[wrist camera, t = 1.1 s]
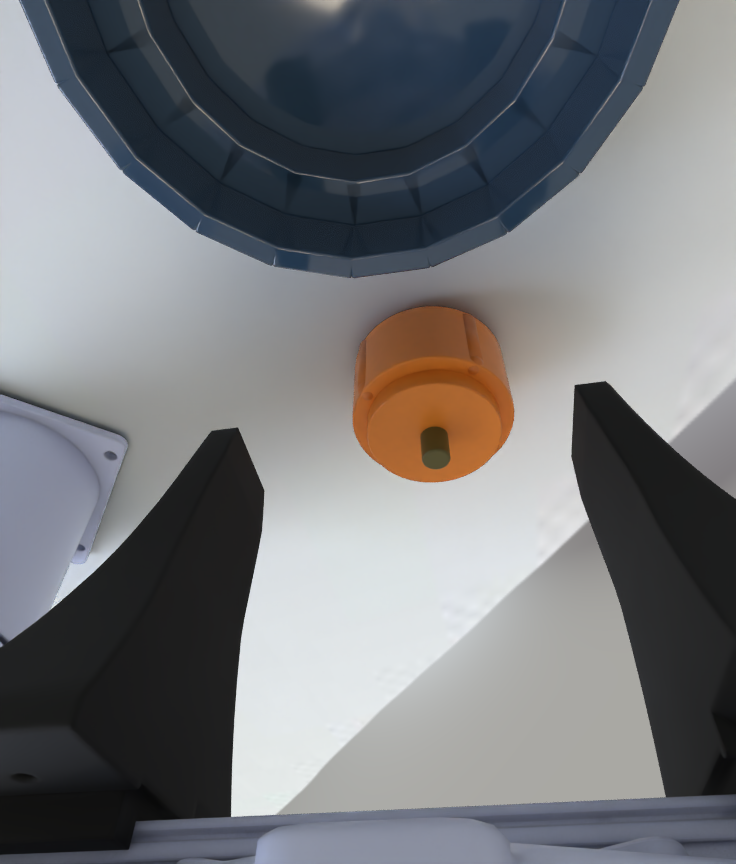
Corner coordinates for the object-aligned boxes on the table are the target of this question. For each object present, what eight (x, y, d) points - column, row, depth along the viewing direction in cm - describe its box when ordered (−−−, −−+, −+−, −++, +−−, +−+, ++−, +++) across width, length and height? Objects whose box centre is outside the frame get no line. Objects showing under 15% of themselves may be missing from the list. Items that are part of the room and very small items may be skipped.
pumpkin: (451, 435, 27) (463, 536, 23) (328, 385, 25) (318, 485, 21) (533, 334, 23) (564, 432, 19) (398, 269, 22) (401, 362, 18)
